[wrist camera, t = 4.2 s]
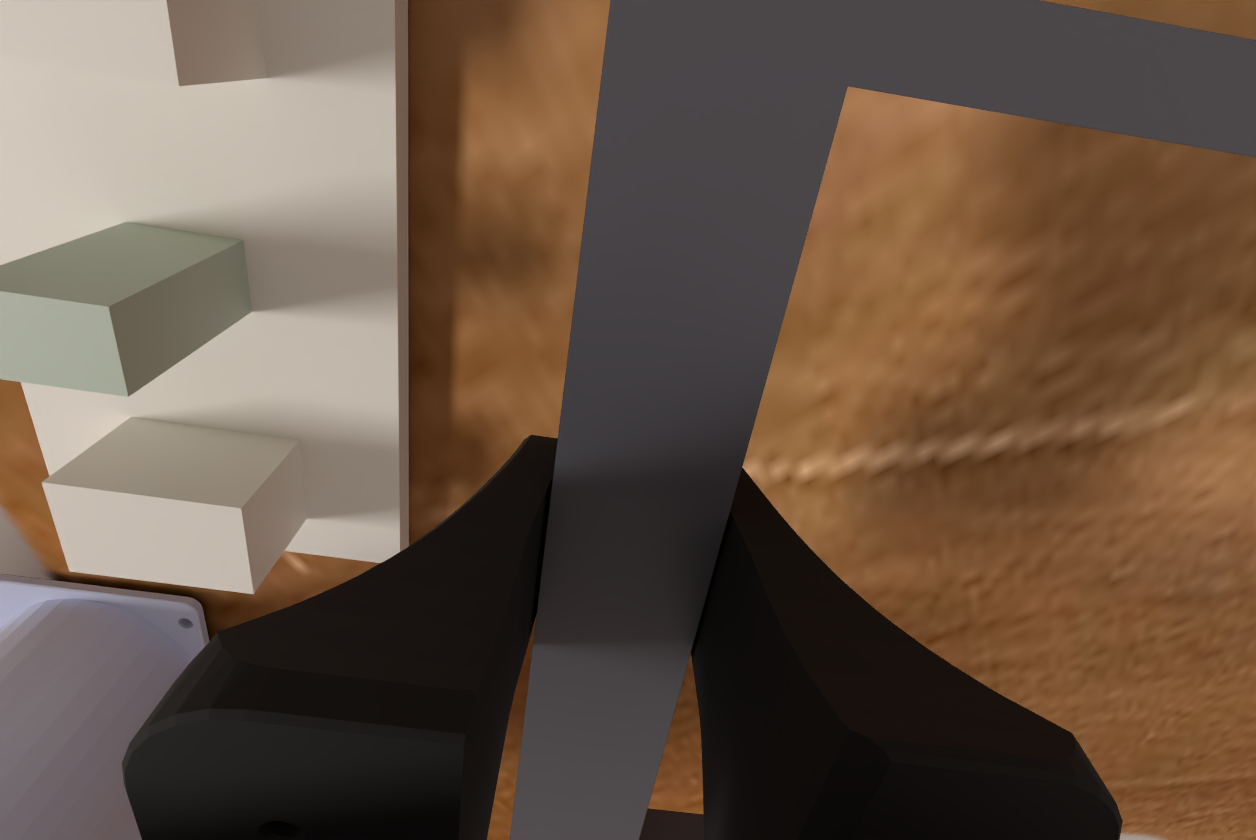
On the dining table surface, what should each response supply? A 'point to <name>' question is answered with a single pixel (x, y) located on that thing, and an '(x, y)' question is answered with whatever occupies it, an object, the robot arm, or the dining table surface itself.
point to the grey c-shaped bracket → (751, 312)
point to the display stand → (209, 278)
